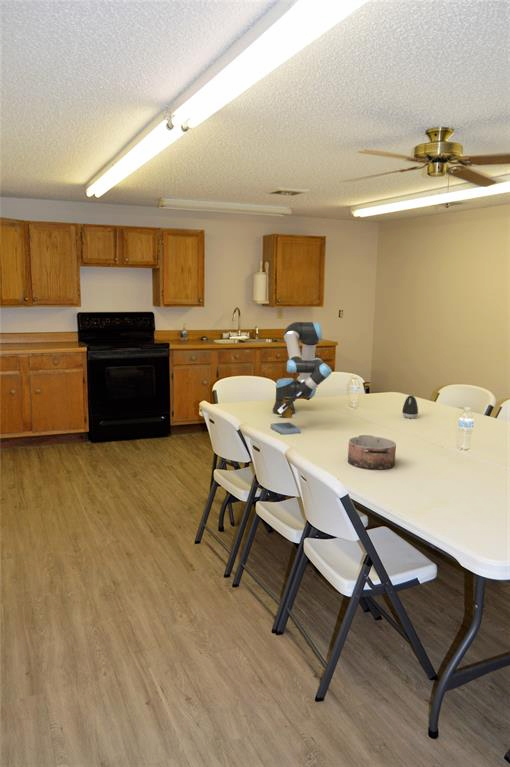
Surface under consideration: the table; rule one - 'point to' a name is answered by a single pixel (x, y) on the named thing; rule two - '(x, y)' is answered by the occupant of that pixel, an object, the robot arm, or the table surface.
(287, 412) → the condiment
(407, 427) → the table surface
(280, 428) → the tray
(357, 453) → the cooking pot
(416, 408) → the black bullet-shaped dome
